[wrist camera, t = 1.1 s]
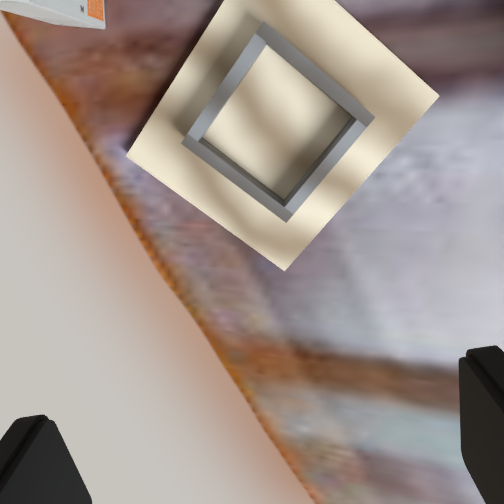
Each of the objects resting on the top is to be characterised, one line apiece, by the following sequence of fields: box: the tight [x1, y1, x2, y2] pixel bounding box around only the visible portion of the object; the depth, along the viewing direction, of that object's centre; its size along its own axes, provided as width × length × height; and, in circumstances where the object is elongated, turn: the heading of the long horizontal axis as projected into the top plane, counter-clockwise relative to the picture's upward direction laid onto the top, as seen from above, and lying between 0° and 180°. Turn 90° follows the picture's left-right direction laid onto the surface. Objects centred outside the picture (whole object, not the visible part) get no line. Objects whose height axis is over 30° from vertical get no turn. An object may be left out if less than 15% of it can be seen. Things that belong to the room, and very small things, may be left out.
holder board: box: [126, 0, 439, 271], centre depth 35 cm, size 20×18×4 cm
